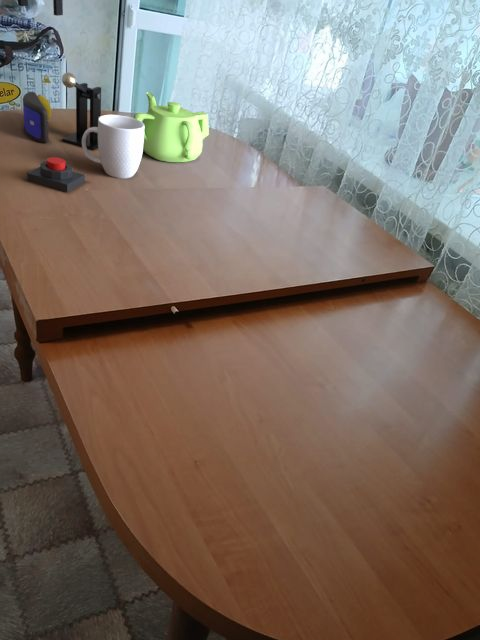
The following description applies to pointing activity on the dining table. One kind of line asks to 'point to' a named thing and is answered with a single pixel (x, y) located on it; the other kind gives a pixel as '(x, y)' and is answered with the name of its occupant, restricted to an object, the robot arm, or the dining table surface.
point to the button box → (56, 177)
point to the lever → (75, 84)
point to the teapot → (172, 131)
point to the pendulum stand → (82, 118)
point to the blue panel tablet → (35, 118)
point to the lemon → (45, 105)
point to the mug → (117, 144)
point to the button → (56, 163)
